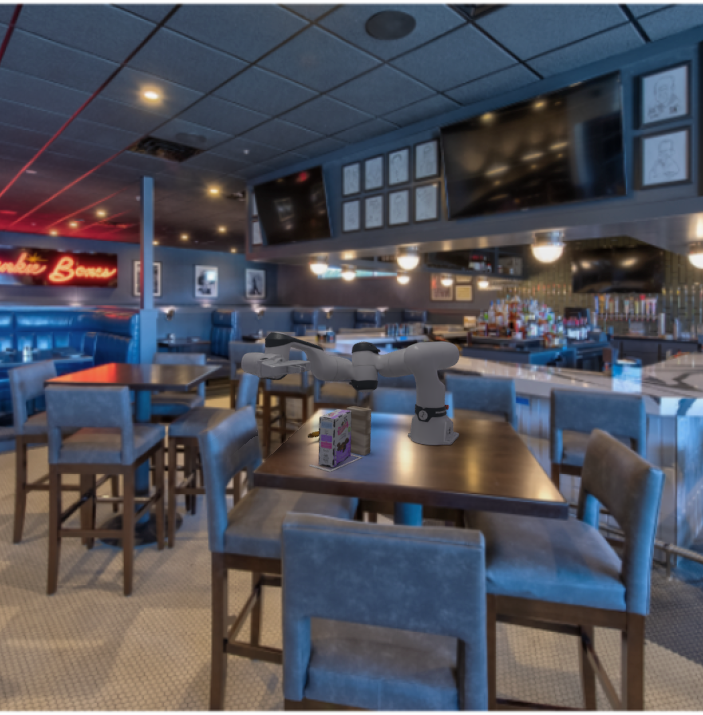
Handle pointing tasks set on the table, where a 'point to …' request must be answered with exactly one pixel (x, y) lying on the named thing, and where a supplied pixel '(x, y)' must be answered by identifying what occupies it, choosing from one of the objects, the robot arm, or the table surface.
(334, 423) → the candy box
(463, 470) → the table surface
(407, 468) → the table surface
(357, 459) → the slot outline
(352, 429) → the ash tower
